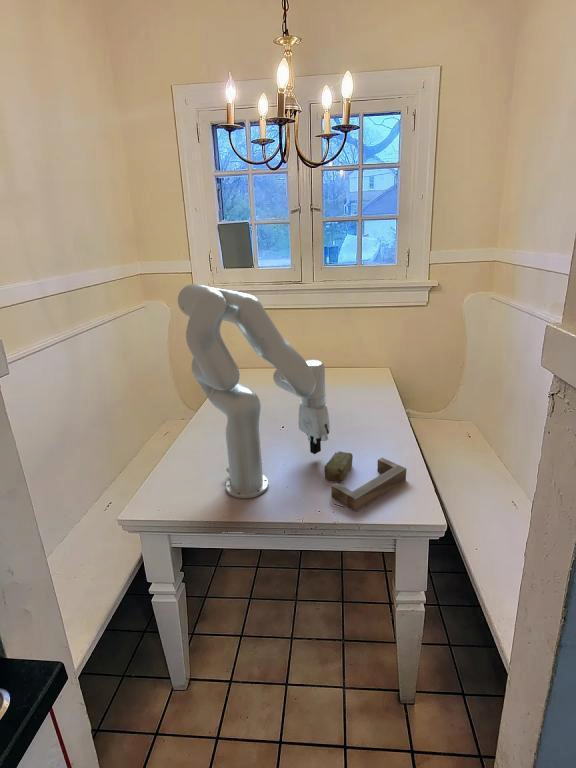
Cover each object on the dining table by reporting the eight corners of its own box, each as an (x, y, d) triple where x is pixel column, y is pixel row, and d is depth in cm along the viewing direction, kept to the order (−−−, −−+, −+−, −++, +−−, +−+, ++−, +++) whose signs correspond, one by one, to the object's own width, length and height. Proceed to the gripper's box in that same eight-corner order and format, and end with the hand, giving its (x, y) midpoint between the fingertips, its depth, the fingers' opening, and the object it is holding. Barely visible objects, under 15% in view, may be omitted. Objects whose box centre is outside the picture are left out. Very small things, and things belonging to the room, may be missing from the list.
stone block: (353, 466, 143) (353, 452, 141) (341, 485, 133) (341, 470, 131) (336, 462, 145) (336, 449, 143) (323, 481, 135) (323, 467, 134)
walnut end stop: (331, 497, 127) (331, 485, 126) (381, 468, 140) (381, 457, 139) (355, 511, 121) (355, 499, 119) (405, 480, 134) (406, 468, 132)
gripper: (288, 397, 143) (291, 448, 150) (321, 410, 132) (323, 464, 139) (306, 390, 147) (308, 440, 154) (339, 402, 137) (340, 455, 143)
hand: (315, 451), depth 146 cm, fingers closed
